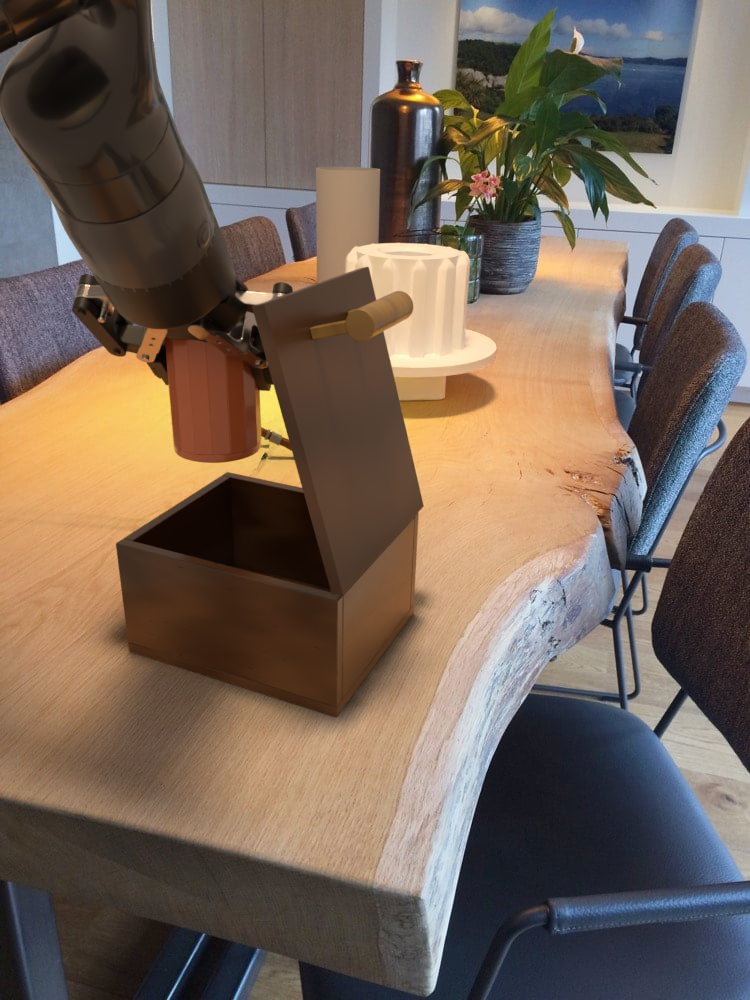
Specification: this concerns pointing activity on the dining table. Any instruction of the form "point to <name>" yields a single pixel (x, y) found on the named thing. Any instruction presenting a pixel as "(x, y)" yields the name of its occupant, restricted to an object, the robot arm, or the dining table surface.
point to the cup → (212, 403)
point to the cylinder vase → (344, 215)
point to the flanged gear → (425, 315)
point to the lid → (343, 415)
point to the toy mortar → (275, 439)
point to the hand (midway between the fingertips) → (220, 376)
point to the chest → (260, 595)
